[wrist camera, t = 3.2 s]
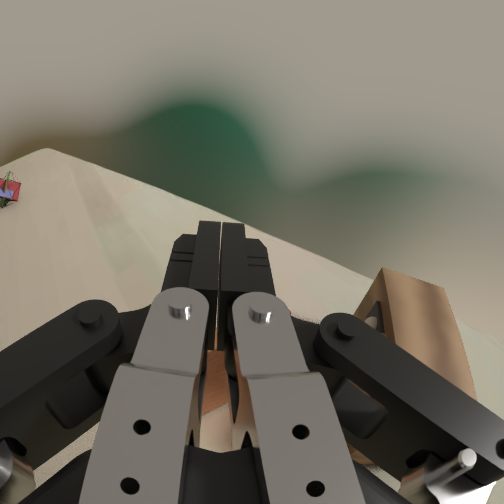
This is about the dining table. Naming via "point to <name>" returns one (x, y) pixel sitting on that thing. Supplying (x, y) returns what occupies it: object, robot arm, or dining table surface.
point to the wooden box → (416, 329)
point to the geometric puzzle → (9, 190)
